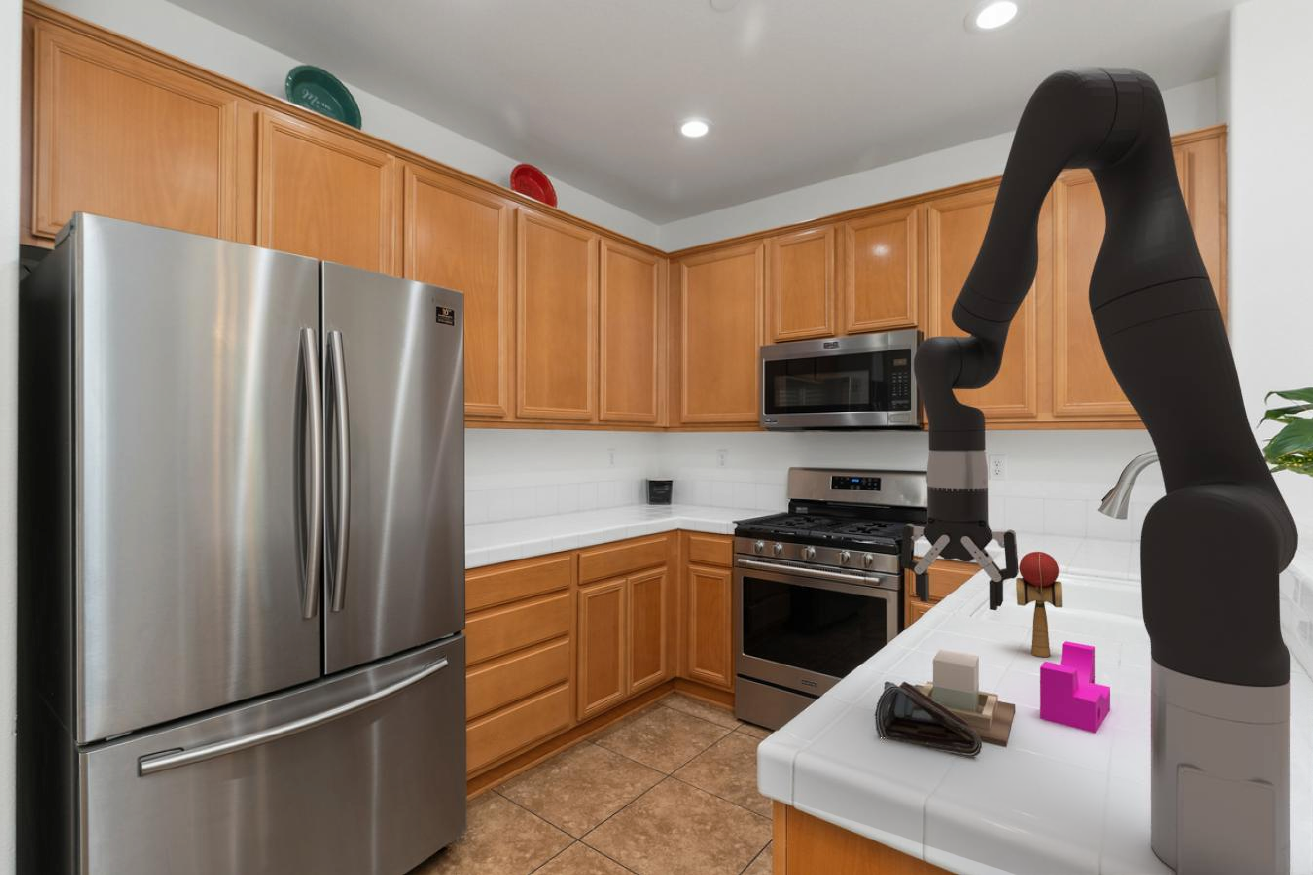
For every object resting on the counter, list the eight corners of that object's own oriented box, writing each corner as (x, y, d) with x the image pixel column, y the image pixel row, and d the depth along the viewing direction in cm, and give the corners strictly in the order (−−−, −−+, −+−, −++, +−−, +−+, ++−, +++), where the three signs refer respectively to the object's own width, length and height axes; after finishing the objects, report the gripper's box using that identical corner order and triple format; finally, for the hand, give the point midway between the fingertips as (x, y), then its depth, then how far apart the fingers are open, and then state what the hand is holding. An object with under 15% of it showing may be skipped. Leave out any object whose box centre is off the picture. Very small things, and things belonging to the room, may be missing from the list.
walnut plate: (1006, 750, 78) (1006, 728, 78) (894, 724, 86) (894, 704, 86) (1015, 712, 89) (1015, 693, 89) (915, 692, 96) (915, 674, 96)
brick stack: (974, 720, 84) (974, 666, 84) (932, 712, 87) (932, 659, 87) (978, 707, 88) (978, 655, 88) (939, 699, 91) (939, 649, 91)
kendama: (1007, 653, 114) (1007, 551, 114) (1021, 645, 118) (1021, 547, 118) (1057, 665, 108) (1057, 557, 108) (1069, 656, 112) (1069, 552, 112)
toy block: (1095, 737, 83) (1095, 678, 83) (1040, 722, 87) (1040, 666, 87) (1115, 702, 93) (1115, 650, 93) (1065, 690, 98) (1065, 641, 98)
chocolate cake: (992, 725, 81) (916, 649, 85) (989, 746, 74) (907, 662, 79) (936, 771, 83) (865, 694, 88) (929, 794, 77) (854, 710, 82)
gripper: (1019, 484, 87) (1020, 605, 87) (908, 481, 95) (909, 592, 94) (1014, 488, 80) (1015, 618, 80) (895, 484, 88) (896, 603, 88)
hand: (958, 604), depth 87 cm, fingers open, 8 cm apart
